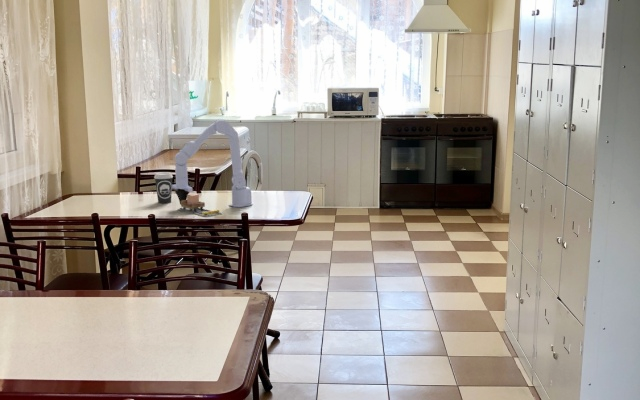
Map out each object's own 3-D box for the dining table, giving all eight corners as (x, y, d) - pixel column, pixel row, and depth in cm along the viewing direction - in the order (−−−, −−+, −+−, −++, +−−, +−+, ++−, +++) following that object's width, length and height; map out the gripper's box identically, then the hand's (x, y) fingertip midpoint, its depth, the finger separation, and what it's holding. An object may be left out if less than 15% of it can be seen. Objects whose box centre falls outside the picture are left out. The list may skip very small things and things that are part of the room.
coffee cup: (178, 201, 353) (176, 172, 350) (166, 204, 345) (165, 175, 342) (163, 200, 357) (161, 171, 354) (151, 203, 348) (149, 174, 346)
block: (194, 203, 331) (193, 193, 330) (199, 204, 328) (198, 194, 327) (187, 205, 328) (186, 194, 327) (192, 206, 325) (191, 195, 324)
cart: (195, 206, 334) (194, 198, 333) (204, 208, 329) (204, 200, 328) (181, 208, 329) (180, 200, 328) (191, 211, 323) (190, 202, 322)
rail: (192, 207, 336) (192, 204, 336) (221, 214, 321) (221, 210, 320) (177, 210, 330) (177, 206, 330) (206, 216, 314) (206, 213, 314)
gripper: (166, 176, 334) (167, 203, 336) (183, 179, 324) (184, 207, 326) (178, 175, 339) (179, 201, 341) (195, 178, 329) (196, 205, 331)
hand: (182, 204), depth 334 cm, fingers closed
